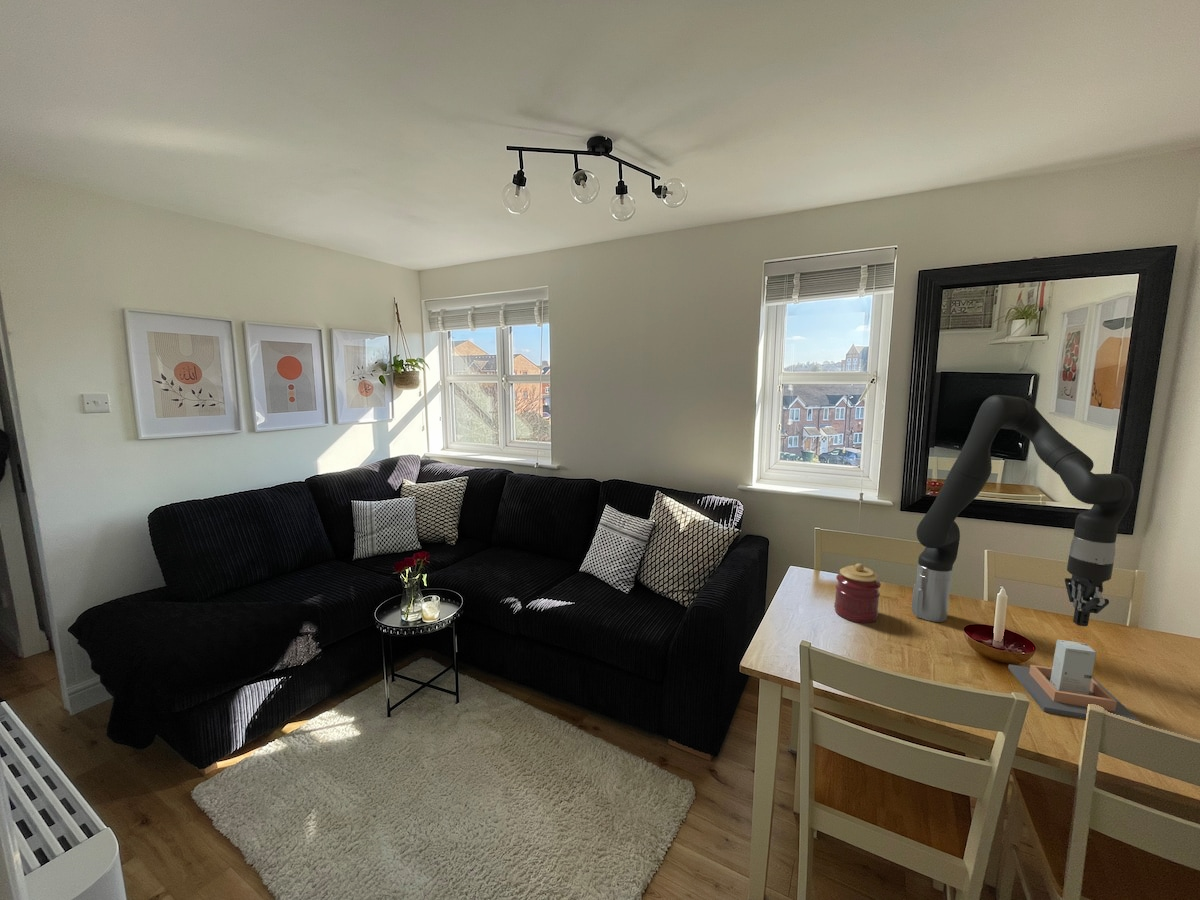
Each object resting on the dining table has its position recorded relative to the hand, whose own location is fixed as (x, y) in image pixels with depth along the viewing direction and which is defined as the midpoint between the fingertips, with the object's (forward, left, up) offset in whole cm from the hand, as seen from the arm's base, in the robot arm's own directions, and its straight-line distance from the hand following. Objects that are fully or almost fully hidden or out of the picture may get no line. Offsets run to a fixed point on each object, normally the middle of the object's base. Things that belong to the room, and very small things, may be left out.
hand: (1080, 624), depth 119 cm
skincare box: (0, 0, -18) cm, 18 cm away
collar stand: (0, 0, -19) cm, 19 cm away
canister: (-43, +30, -19) cm, 56 cm away
